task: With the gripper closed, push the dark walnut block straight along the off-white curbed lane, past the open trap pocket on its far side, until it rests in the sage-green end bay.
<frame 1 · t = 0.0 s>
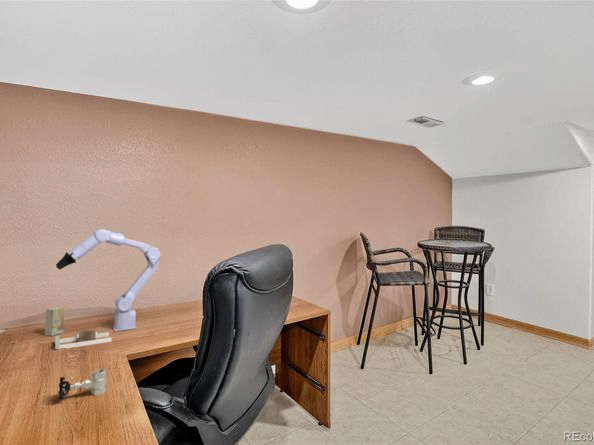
hand: (57, 267, 155), 32 cm above the table, tool tilted 50°, fingers open, 7 cm apart
block: (87, 342, 150), resting in lane
lane: (87, 341, 150), on the table
skincare box: (54, 334, 160), on the table
valve: (83, 396, 102), on the table
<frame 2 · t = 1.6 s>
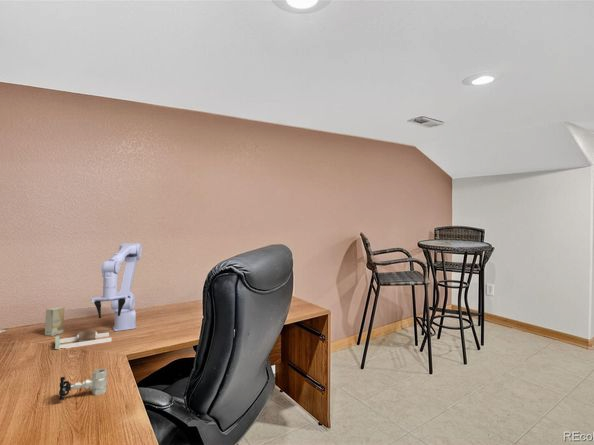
hand: (109, 316, 155), 10 cm above the table, tool pointing down, fingers open, 7 cm apart
nothing on the table moved.
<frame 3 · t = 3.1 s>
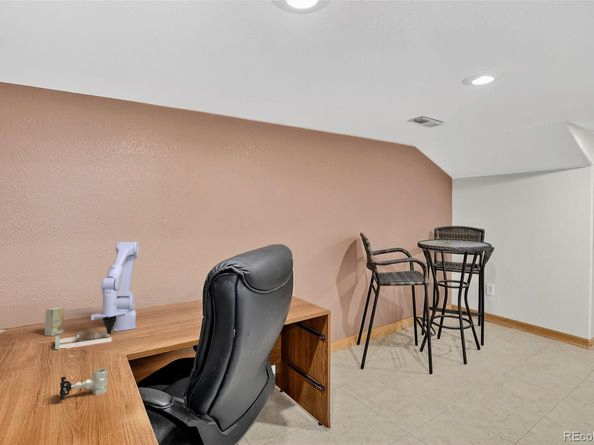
hand: (108, 333, 155), 2 cm above the table, tool pointing down, fingers closed
nothing on the table moved.
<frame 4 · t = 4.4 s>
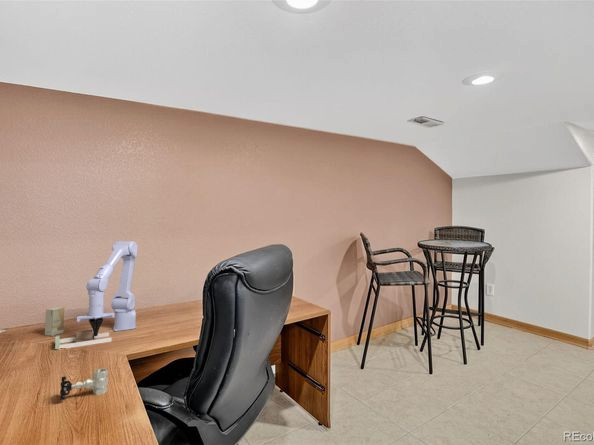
hand: (95, 335, 151), 2 cm above the table, tool pointing down, fingers closed
block: (84, 342, 149), resting in lane, touching gripper
everything else where it was.
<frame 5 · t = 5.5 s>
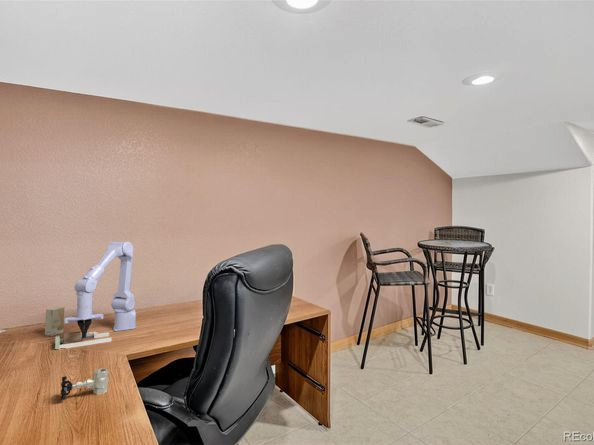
hand: (83, 337, 149), 2 cm above the table, tool pointing down, fingers closed
block: (72, 344, 146), resting in lane, touching gripper
everything else where it was.
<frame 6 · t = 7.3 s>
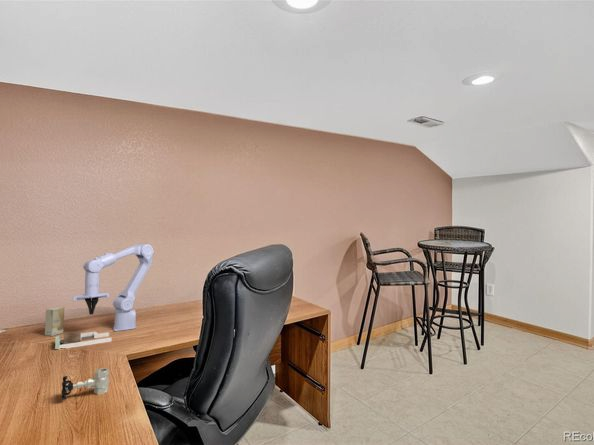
hand: (91, 314, 159), 10 cm above the table, tool pointing down, fingers closed
block: (71, 344, 146), resting in lane
everything else where it was.
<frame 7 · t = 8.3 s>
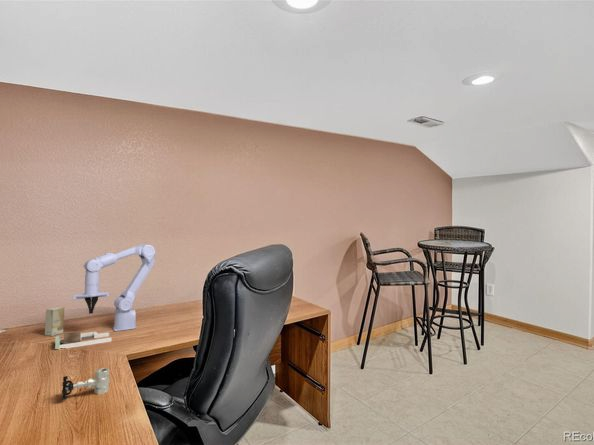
hand: (90, 313, 161), 10 cm above the table, tool pointing down, fingers closed
nothing on the table moved.
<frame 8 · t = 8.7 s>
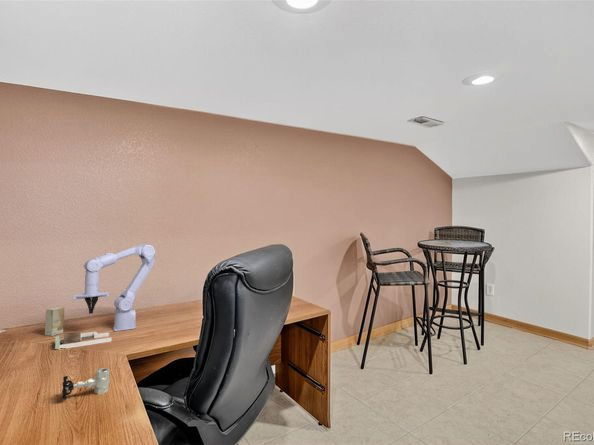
hand: (90, 313, 161), 10 cm above the table, tool pointing down, fingers closed
nothing on the table moved.
at the end: block 0.7 cm from the target spot, resting in lane; block tilted 0° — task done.
